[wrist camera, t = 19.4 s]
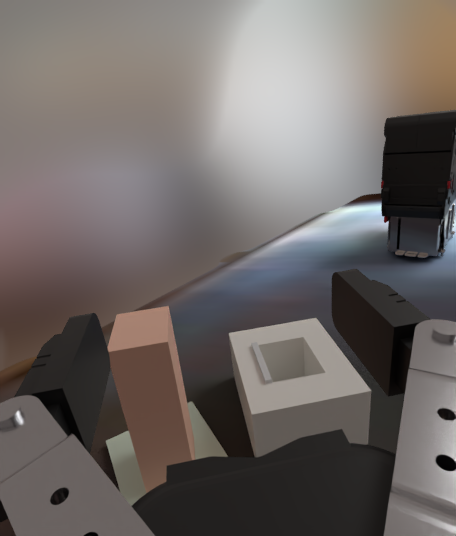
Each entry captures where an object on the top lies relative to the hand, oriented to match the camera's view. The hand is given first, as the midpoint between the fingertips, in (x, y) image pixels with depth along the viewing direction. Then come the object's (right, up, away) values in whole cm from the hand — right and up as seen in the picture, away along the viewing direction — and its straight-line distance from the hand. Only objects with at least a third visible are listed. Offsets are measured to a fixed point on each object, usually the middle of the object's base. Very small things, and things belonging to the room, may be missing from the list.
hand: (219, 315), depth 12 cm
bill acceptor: (+39, +6, +61) cm, 72 cm away
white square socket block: (+7, -12, +24) cm, 28 cm away
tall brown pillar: (-5, -15, +19) cm, 25 cm away
